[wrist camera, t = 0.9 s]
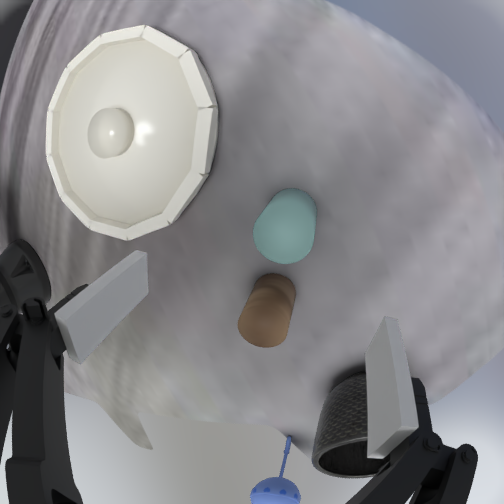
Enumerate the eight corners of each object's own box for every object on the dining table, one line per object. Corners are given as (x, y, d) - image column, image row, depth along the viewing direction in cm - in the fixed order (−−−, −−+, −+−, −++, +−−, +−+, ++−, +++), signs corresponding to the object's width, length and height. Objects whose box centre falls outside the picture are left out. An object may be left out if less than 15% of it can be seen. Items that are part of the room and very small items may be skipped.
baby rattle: (266, 425, 46) (241, 507, 30) (312, 429, 44) (297, 515, 28) (268, 444, 50) (247, 516, 34) (309, 448, 47) (294, 523, 32)
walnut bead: (251, 303, 35) (235, 339, 29) (257, 268, 33) (241, 302, 27) (290, 313, 34) (281, 352, 28) (300, 279, 32) (292, 316, 26)
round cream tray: (60, 212, 38) (47, 218, 35) (68, 49, 26) (53, 47, 24) (205, 251, 34) (195, 262, 31) (236, 25, 22) (226, 16, 20)
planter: (374, 419, 40) (374, 482, 28) (305, 398, 41) (292, 468, 29) (427, 370, 33) (443, 442, 22) (351, 343, 34) (352, 426, 23)
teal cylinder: (265, 228, 31) (248, 255, 25) (273, 183, 29) (258, 199, 22) (310, 239, 30) (306, 270, 24) (321, 194, 28) (320, 214, 22)
